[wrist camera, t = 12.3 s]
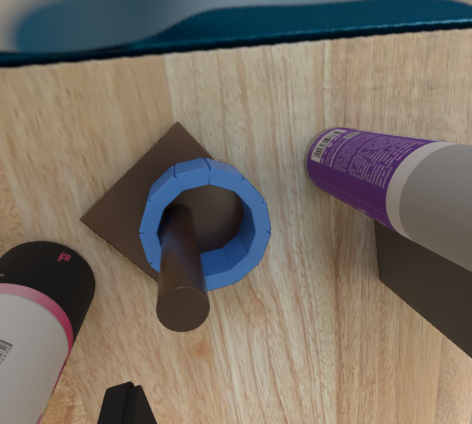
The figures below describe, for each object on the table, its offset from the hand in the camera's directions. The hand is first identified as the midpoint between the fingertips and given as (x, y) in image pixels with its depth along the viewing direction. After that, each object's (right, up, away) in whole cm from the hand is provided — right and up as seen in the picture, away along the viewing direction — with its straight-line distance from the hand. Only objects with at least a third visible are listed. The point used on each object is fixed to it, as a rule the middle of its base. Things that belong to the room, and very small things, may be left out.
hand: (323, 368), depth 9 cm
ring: (-5, +4, +14) cm, 16 cm away
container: (+5, +8, +16) cm, 19 cm away
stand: (-6, +4, +15) cm, 17 cm away
